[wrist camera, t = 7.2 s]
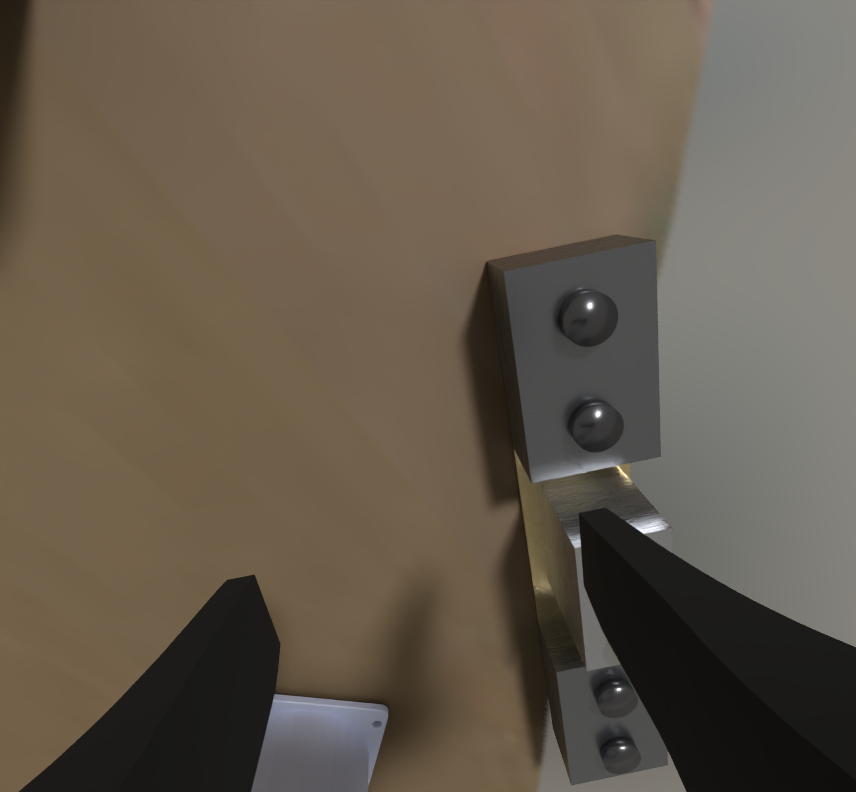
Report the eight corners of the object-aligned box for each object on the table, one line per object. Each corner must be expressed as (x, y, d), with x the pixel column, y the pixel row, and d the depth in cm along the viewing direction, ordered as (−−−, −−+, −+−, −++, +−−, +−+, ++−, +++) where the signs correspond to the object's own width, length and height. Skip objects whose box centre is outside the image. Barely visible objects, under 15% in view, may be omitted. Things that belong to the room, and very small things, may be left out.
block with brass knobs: (619, 567, 25) (682, 665, 19) (548, 582, 25) (592, 684, 19) (613, 460, 23) (682, 538, 17) (535, 476, 22) (580, 559, 17)
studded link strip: (640, 710, 29) (673, 777, 25) (553, 728, 29) (575, 798, 25) (616, 234, 19) (665, 241, 16) (486, 261, 19) (507, 274, 16)
